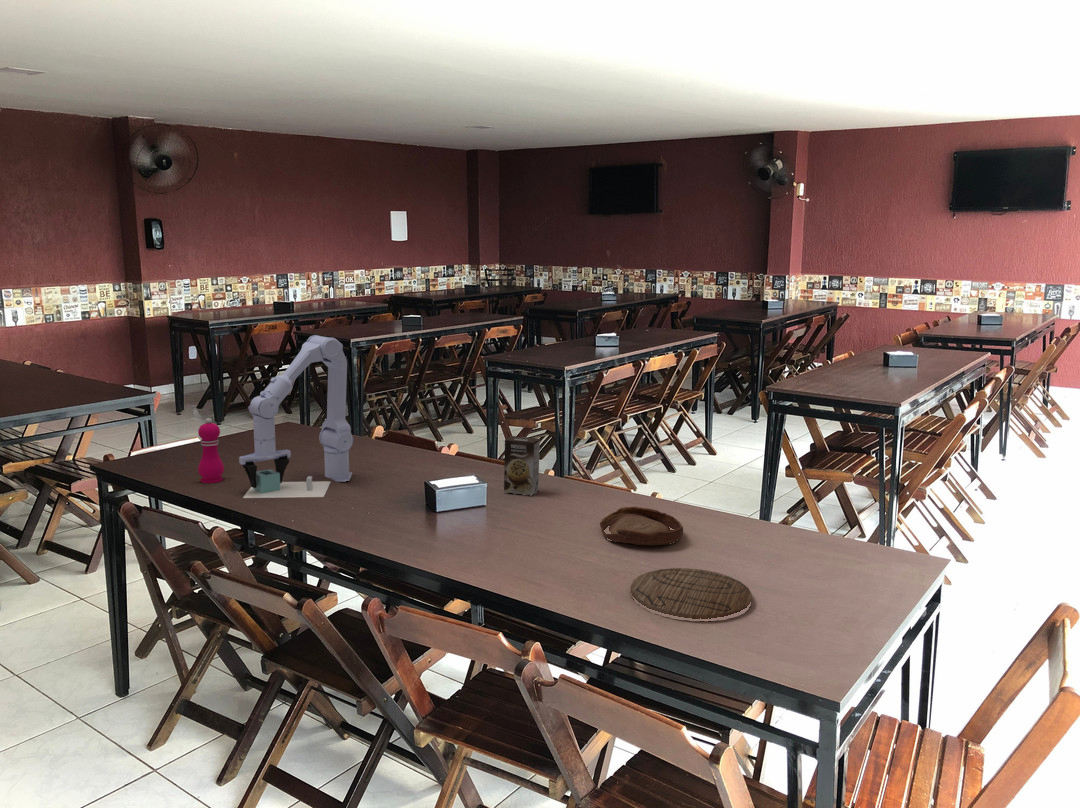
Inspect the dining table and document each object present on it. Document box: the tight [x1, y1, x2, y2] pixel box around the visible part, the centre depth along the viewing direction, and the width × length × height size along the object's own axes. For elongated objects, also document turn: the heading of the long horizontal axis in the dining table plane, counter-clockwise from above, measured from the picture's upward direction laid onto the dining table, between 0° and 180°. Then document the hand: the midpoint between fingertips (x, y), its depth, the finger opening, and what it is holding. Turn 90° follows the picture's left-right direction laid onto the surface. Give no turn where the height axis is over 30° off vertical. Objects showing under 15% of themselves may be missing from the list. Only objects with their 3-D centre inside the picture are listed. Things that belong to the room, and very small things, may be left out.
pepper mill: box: [197, 417, 225, 484], centre depth 262 cm, size 7×7×20 cm
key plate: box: [242, 475, 332, 499], centre depth 255 cm, size 16×22×5 cm
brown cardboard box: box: [503, 435, 541, 496], centre depth 259 cm, size 9×6×16 cm
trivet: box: [630, 567, 753, 619], centre depth 186 cm, size 25×25×2 cm
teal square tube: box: [253, 468, 280, 494], centre depth 254 cm, size 6×6×5 cm
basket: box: [599, 506, 684, 546], centre depth 224 cm, size 22×20×5 cm
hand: (266, 484), depth 254 cm, fingers open, 7 cm apart
